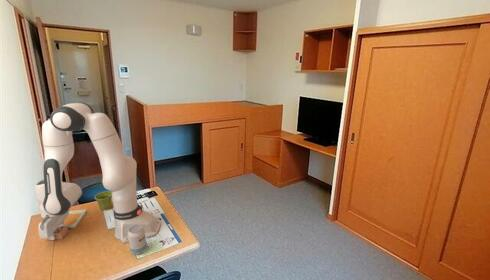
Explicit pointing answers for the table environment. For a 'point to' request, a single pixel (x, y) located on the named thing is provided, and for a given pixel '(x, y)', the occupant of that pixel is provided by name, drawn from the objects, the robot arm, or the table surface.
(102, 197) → the plant pot
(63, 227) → the orange frame with handle
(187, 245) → the table surface
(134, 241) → the beverage can
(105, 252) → the table surface
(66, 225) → the tray
